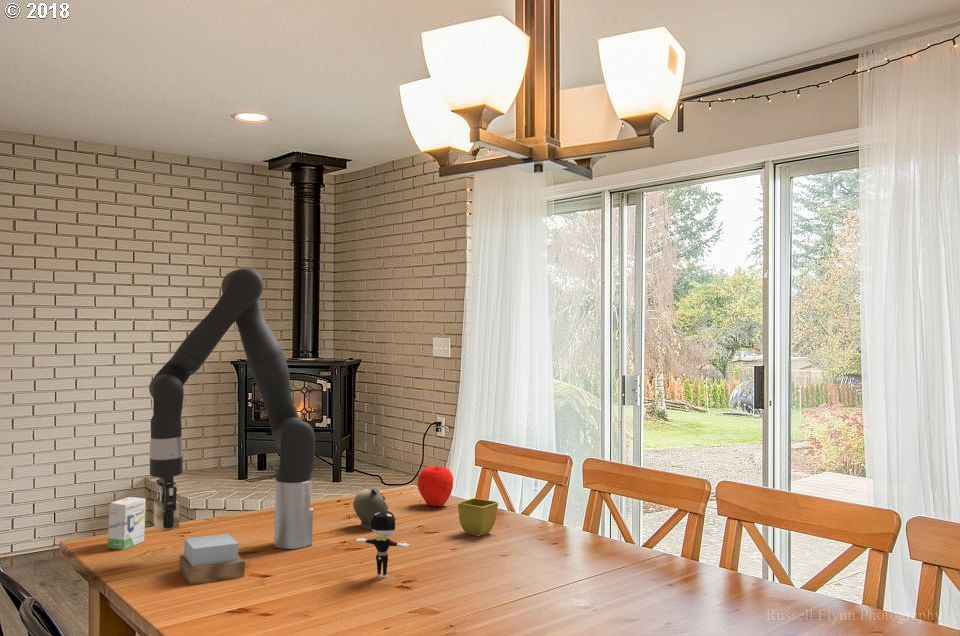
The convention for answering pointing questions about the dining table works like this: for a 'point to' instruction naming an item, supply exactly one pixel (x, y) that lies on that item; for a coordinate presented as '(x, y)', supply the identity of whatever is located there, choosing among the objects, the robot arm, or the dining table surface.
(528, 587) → the dining table surface
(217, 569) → the walnut plinth block
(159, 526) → the maple block
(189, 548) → the slate-blue block
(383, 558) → the toy
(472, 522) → the flower pot
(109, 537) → the ink box
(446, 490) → the apple
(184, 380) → the robot arm
